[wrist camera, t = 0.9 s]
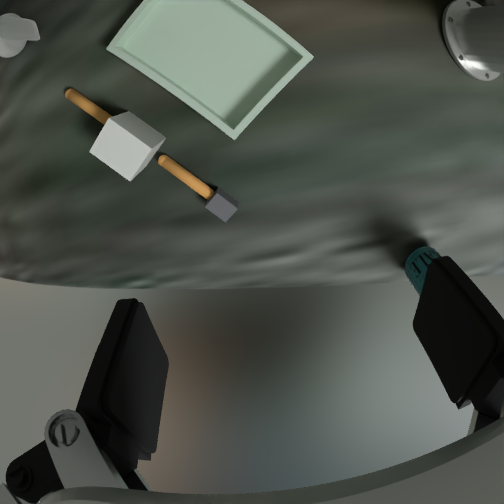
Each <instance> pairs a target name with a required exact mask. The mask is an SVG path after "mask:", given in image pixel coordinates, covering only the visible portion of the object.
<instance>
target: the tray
mask: <svg viewBox="0 0 504 504" xmlns="http://www.w3.org/2000/svg"><path fill="white" fill-rule="evenodd" d="M106 49H107V50H108V51H110V52H111V53H113V54H115V55H116V56H118V57H119V58H121V59H122V60H124V61H125V62H127V63H129V64H130V65H132V66H133V67H135V68H136V69H138V70H139V71H141V72H142V73H144V74H145V75H147V76H148V77H149V78H151V79H152V80H154V81H155V82H157V83H158V84H160V85H161V86H163V87H164V88H165V89H167V90H168V91H170V92H171V93H172V94H174V95H175V96H177V97H178V98H179V99H181V100H182V101H184V102H185V103H186V104H188V105H189V106H190V107H192V108H193V109H194V110H196V111H197V112H198V113H200V114H201V115H202V116H204V117H205V118H206V119H208V120H209V121H210V122H212V123H213V124H214V125H216V126H217V127H218V128H220V129H221V130H222V131H223V132H225V133H226V134H227V135H229V136H230V137H231V138H232V139H234V140H235V139H236V138H237V137H238V136H239V134H240V133H241V132H242V131H243V130H244V129H245V128H246V127H247V126H248V124H249V123H250V122H251V121H252V120H253V119H254V118H255V117H256V116H257V115H258V114H259V112H260V111H261V110H262V109H263V108H264V107H265V106H266V105H267V104H268V103H269V102H270V101H271V100H272V99H273V98H274V97H275V96H276V94H277V93H278V92H279V91H280V90H281V89H282V88H283V87H284V86H285V85H286V84H287V83H288V82H289V81H290V80H291V79H292V78H293V77H294V76H295V75H296V74H297V73H298V72H299V71H300V70H301V69H302V68H303V67H304V66H305V65H306V64H307V63H308V62H309V61H311V60H312V59H313V58H314V56H312V55H311V54H310V53H309V52H308V51H307V50H306V49H305V48H303V47H302V46H301V45H300V44H299V43H298V42H296V41H295V40H294V39H293V38H292V37H290V36H289V35H288V34H287V33H285V32H284V31H283V30H282V29H280V28H279V27H278V26H277V25H275V24H274V23H273V22H271V21H270V20H269V19H267V18H266V17H265V16H263V15H262V14H261V13H259V12H258V11H257V10H255V9H254V8H252V7H251V6H249V5H248V4H247V3H245V2H244V1H242V0H144V1H143V2H142V3H141V4H140V5H139V6H138V8H137V9H136V10H135V11H134V12H133V14H132V15H131V16H130V17H129V19H128V20H127V21H126V23H125V24H124V25H123V26H122V28H121V29H120V30H119V32H118V33H117V34H116V36H115V37H114V38H113V40H112V41H111V43H110V44H109V45H108V47H107V48H106Z"/></svg>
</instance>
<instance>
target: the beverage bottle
mask: <svg viewBox="0 0 504 504" xmlns="http://www.w3.org/2000/svg"><path fill="white" fill-rule="evenodd" d="M438 257H442V256H440V255H439V254H438V252H436V250H434V248H431V247H421V248H418V249H416V250H415V251H414V252H412V253H411V254H410V256H409V257H408V259H407V261H406V263H405V272H406V275H407V277H408V278H409V280H410V282H411V283H412V284H413V286H414V288H415V289H416V291H417V292H418V294H419V295H421V292H422V288H423V284H424V280H425V276H426V272H427V267H428V265H429V264H430V263H431V261H432V260H433V259H434V258H438Z"/></svg>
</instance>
